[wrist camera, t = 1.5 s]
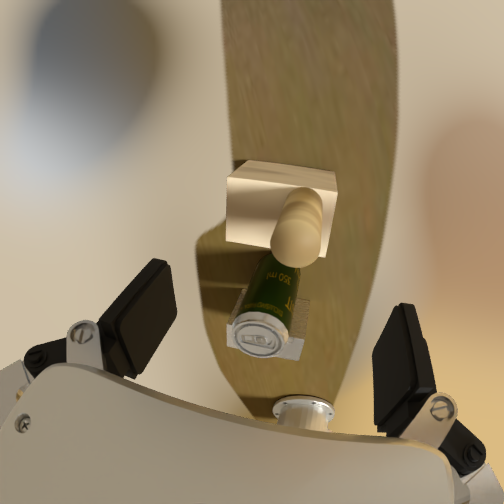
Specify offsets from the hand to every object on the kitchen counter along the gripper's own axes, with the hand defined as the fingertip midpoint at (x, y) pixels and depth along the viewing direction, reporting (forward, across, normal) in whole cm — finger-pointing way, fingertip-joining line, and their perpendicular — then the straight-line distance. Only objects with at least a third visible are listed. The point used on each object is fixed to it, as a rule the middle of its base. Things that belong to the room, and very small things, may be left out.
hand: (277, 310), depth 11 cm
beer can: (+21, +2, +12) cm, 24 cm away
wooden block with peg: (+20, +2, +2) cm, 21 cm away
